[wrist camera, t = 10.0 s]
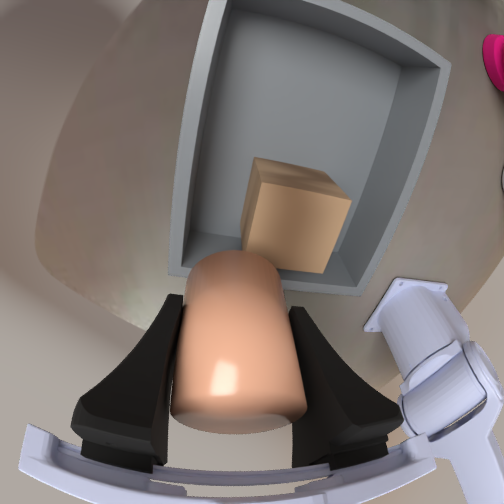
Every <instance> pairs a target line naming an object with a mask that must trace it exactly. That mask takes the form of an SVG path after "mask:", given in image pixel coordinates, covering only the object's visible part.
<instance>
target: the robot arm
mask: <svg viewBox="0 0 504 504" xmlns="http://www.w3.org/2000/svg"><path fill="white" fill-rule="evenodd" d="M447 288H448V285H447V284H446V283H438V282H430V281H422V280H413V279H405V278H396V279H394V281H393V282H392V284H391V286H390V287H389V289H388V290H387V292H386V294H385V295H384V297H383V299H382V300H381V302H380V303H379V305H378V306H377V308H376V309H375V311H374V313H373V314H372V316H371V317H370V319H369V320H368V322H367V323H366V324H365V326H364V328H363V329H364V331H365V332H382V333H383V335H384V337H385V339H386V341H387V344H388V346H389V348H390V350H391V352H392V355H393V357H394V359H395V361H396V364H397V366H398V368H399V371H400V373H401V375H402V378H403V380H404V382H403V383H402V384H401V385H400V386H399V387H400V389H401V392H402V394H401V395H400V396H399V397H398V401H397V404H396V403H395V402H393V401H391V400H389V399H388V398H386V397H385V396H383V395H382V394H381V393H379V392H378V391H376V390H375V389H374V388H372V387H371V386H370V385H369V384H367V383H366V382H365V381H364V380H363V379H362V378H360V377H359V376H358V375H357V374H356V373H355V372H354V371H353V370H352V369H351V368H350V367H349V366H348V365H347V364H346V363H345V362H344V361H343V360H342V359H341V357H340V356H339V355H338V354H337V353H336V351H335V350H334V349H333V348H332V347H331V345H330V344H329V343H328V341H327V340H326V339H325V337H324V336H323V334H322V333H321V332H320V330H319V329H318V327H317V326H316V324H315V323H314V322H313V320H312V319H311V317H310V316H309V314H308V313H307V311H306V310H305V308H304V307H296V306H292V307H291V309H290V311H289V314H288V315H289V320H290V324H291V329H292V334H293V338H294V343H295V348H296V353H297V358H298V362H299V367H300V372H301V377H302V382H303V387H304V392H305V397H306V403H307V411H306V412H305V414H304V415H303V416H302V417H301V418H299V419H298V420H296V421H295V422H293V423H292V432H293V433H292V434H293V450H292V451H293V452H292V468H290V469H280V470H267V471H244V472H243V471H230V472H229V471H203V470H190V469H180V468H171V467H164V465H165V464H166V463H167V452H168V451H167V450H168V423H169V422H168V421H169V406H170V394H171V386H172V380H173V374H174V365H175V357H176V349H177V342H178V334H179V327H180V321H181V315H182V308H183V295H177V294H169V295H168V296H167V298H166V300H165V302H164V304H163V306H162V308H161V310H160V311H159V313H158V315H157V316H156V318H155V320H154V321H153V323H152V324H151V326H150V327H149V329H148V330H147V332H146V333H145V334H144V336H143V337H142V339H141V340H140V341H139V342H138V344H137V345H136V347H134V349H133V350H132V351H131V352H130V353H129V354H128V356H127V357H126V358H125V359H124V360H123V361H122V362H121V363H120V364H119V365H118V366H117V367H116V368H115V369H114V370H113V371H112V372H111V373H110V374H109V375H108V376H106V378H104V379H103V380H102V381H101V382H100V383H99V384H97V385H96V386H95V387H94V388H92V389H91V390H89V391H88V392H87V393H85V394H84V395H83V396H81V397H80V399H79V401H78V402H77V405H76V407H75V409H74V412H73V417H72V421H71V428H72V430H73V431H74V432H75V433H76V434H77V435H79V436H80V437H81V438H82V439H83V441H82V447H79V446H76V445H73V444H70V443H68V442H65V441H62V440H60V439H58V437H56V436H55V435H53V434H52V433H50V432H48V431H45V430H43V429H41V428H39V427H36V426H34V425H32V424H28V425H27V429H26V433H25V437H24V442H23V446H22V451H21V456H20V462H19V467H18V468H19V470H20V471H22V472H24V473H26V474H28V475H29V476H31V477H33V478H35V479H37V480H39V481H41V482H43V483H46V484H48V485H50V486H52V487H54V488H56V489H58V490H61V491H63V492H65V493H68V494H70V495H72V496H75V497H78V498H80V499H83V500H86V501H88V502H91V503H94V504H360V503H363V502H366V501H368V500H371V499H374V498H376V497H379V496H381V495H383V494H386V493H388V492H390V491H392V490H395V489H397V488H399V487H401V486H403V485H406V484H408V483H410V482H412V481H414V480H416V479H417V478H420V477H422V476H424V475H425V474H427V473H429V472H431V471H433V470H435V469H436V468H437V466H436V463H435V459H434V457H435V458H444V459H449V460H450V462H451V464H452V466H453V469H454V471H455V473H456V476H457V478H458V481H459V483H460V486H461V488H462V491H463V493H464V496H465V499H466V501H467V504H504V458H503V455H502V452H501V450H500V447H499V445H498V443H497V440H496V438H495V436H494V433H493V431H492V428H493V426H494V424H495V422H496V420H497V418H498V416H499V413H500V411H501V409H502V407H503V404H504V390H503V387H502V385H501V383H500V381H499V379H498V376H497V373H496V371H495V369H494V367H493V365H492V363H491V361H490V359H489V358H488V356H487V355H486V353H485V352H484V351H483V349H482V348H481V347H480V345H479V344H478V343H477V342H475V341H469V338H470V337H469V330H468V326H467V324H466V322H465V321H464V319H463V318H462V316H461V315H460V313H459V312H458V310H457V309H456V307H455V306H454V305H453V303H452V302H451V300H450V299H449V298H448V296H447V295H446V293H445V291H446V289H447ZM486 398H487V399H486ZM485 399H486V401H485V402H484V403H483V404H481V405H480V406H478V407H477V408H476V409H474V410H473V411H472V412H470V413H469V414H468V415H466V416H465V417H463V418H462V419H460V420H459V421H458V422H456V423H454V424H453V425H451V426H449V427H447V426H448V425H450V424H451V423H453V422H454V421H456V420H457V419H459V418H460V417H462V416H463V415H464V414H466V413H468V412H469V411H470V410H472V409H473V408H474V407H476V406H477V405H478V404H480V403H481V402H482V401H483V400H485ZM399 426H401V428H402V429H403V431H404V432H405V434H406V435H407V436H408V437H410V438H409V439H407V440H405V441H403V442H402V443H401V444H399V445H396V446H393V447H390V448H387V445H386V442H387V441H388V436H387V434H388V433H390V432H392V431H393V430H395V429H396V428H398V427H399ZM445 427H447V428H445ZM444 428H445V429H444ZM327 476H328V477H327ZM322 477H327V478H326V479H322V480H318V481H313V482H310V483H308V484H305V485H302V486H298V487H295V493H289V494H280V495H269V496H255V497H194V496H193V497H192V496H187V491H186V490H185V488H184V487H183V486H177V485H171V484H165V483H159V482H153V481H151V480H150V479H153V480H159V481H166V482H174V483H183V484H194V485H210V486H250V485H251V486H253V485H269V484H281V483H289V482H297V481H304V480H311V479H316V478H322Z"/></svg>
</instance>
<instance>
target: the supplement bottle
mask: <svg viewBox="0 0 504 504" xmlns="http://www.w3.org/2000/svg"><path fill="white" fill-rule="evenodd" d="M502 185H503V189H504V169H503V175H502Z"/></svg>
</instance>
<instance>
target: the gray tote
mask: <svg viewBox="0 0 504 504" xmlns="http://www.w3.org/2000/svg"><path fill="white" fill-rule="evenodd" d="M450 69H451V63H450V62H448V61H447V60H446V59H444V58H443V57H442V56H440V55H439V54H438V53H436V52H435V51H433V50H432V49H430V48H429V47H428V46H426V45H425V44H423V43H421V42H420V41H418V40H417V39H415V38H414V37H412V36H410V35H409V34H407V33H405V32H404V31H402V30H400V29H399V28H397V27H395V26H393V25H391V24H390V23H388V22H386V21H384V20H382V19H380V18H378V17H376V16H374V15H372V14H370V13H368V12H366V11H363V10H361V9H359V8H357V7H354V6H352V5H350V4H347V3H345V2H342V1H340V0H209V3H208V6H207V10H206V13H205V17H204V21H203V24H202V28H201V32H200V36H199V40H198V44H197V48H196V52H195V57H194V61H193V66H192V71H191V75H190V80H189V85H188V90H187V96H186V101H185V107H184V113H183V119H182V125H181V132H180V139H179V146H178V153H177V161H176V170H175V179H174V188H173V199H172V211H171V224H170V240H169V261H168V275H171V276H178V277H185V278H188V275H189V273H190V271H191V269H192V268H193V267H194V266H195V265H196V264H197V263H198V262H199V261H200V260H202V259H203V258H205V257H207V256H209V255H211V254H214V253H217V252H221V251H228V250H241V251H242V245H241V230H240V220H241V215H242V211H243V206H244V201H245V196H246V191H247V187H248V182H249V177H250V173H251V168H252V163H253V159H254V157H258V158H264V159H269V160H274V161H279V162H284V163H289V164H294V165H298V166H303V167H307V168H311V169H316V170H320V171H324V172H325V173H326V174H327V175H328V176H329V177H330V178H331V179H332V180H333V181H334V182H335V183H336V184H337V185H338V186H339V187H340V188H341V189H342V190H343V192H344V193H345V194H346V195H347V196H348V197H349V198H350V199H351V200H352V202H351V205H350V208H349V210H348V213H347V216H346V218H345V221H344V223H343V226H342V228H341V231H340V233H339V236H338V238H337V241H336V243H335V246H334V248H333V251H332V253H331V255H330V258H329V260H328V263H327V265H326V267H325V270H324V272H323V274H322V273H313V272H304V271H295V270H286V269H278V268H276V270H277V271H278V273H279V275H280V279H281V283H282V288H283V289H284V290H294V291H304V292H315V293H326V294H337V295H349V296H361V295H362V293H363V291H364V290H365V288H366V286H367V284H368V283H369V281H370V279H371V277H372V275H373V274H374V272H375V270H376V268H377V266H378V264H379V262H380V260H381V258H382V257H383V255H384V253H385V251H386V249H387V247H388V245H389V243H390V241H391V239H392V237H393V234H394V232H395V230H396V228H397V226H398V224H399V222H400V219H401V217H402V215H403V213H404V211H405V208H406V206H407V204H408V201H409V199H410V197H411V194H412V192H413V189H414V187H415V184H416V182H417V179H418V177H419V174H420V172H421V169H422V166H423V164H424V161H425V158H426V155H427V152H428V149H429V147H430V144H431V141H432V137H433V134H434V131H435V128H436V125H437V121H438V118H439V114H440V111H441V107H442V103H443V100H444V96H445V92H446V87H447V83H448V79H449V74H450Z"/></svg>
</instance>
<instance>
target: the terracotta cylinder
mask: <svg viewBox="0 0 504 504" xmlns="http://www.w3.org/2000/svg"><path fill="white" fill-rule="evenodd" d="M170 404H171V405H170V414H171V415H172V416H173V418H174V419H175V420H177V421H178V422H179V423H182V424H183V425H186V426H188V427H191V428H193V429H197V430H201V431H205V432H211V433H218V434H251V433H259V432H265V431H269V430H274V429H277V428H280V427H283V426H286V425H288V424H291V423H293V422H295V421H296V420H298V419H299V418H301V417H302V416H303V415H304V414H305V412H306V411H307V403H306V397H305V392H304V387H303V382H302V377H301V372H300V367H299V362H298V358H297V353H296V348H295V343H294V338H293V334H292V329H291V324H290V320H289V315H288V310H287V306H286V301H285V297H284V292H283V288H282V283H281V279H280V275H279V273H278V271H277V270H276V268H275V267H274V266H273V265H272V263H270V262H269V261H268V260H267V259H265V258H263V257H262V256H259V255H257V254H254V253H251V252H247V251H241V250H228V251H221V252H217V253H214V254H211V255H209V256H207V257H205V258H203V259H202V260H200V261H199V262H198V263H197V264H196V265H195V266H194V267H193V268H192V269H191V271H190V273H189V275H188V278H187V283H186V289H185V295H184V301H183V308H182V315H181V321H180V327H179V334H178V342H177V349H176V357H175V365H174V374H173V383H172V393H171V403H170Z"/></svg>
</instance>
